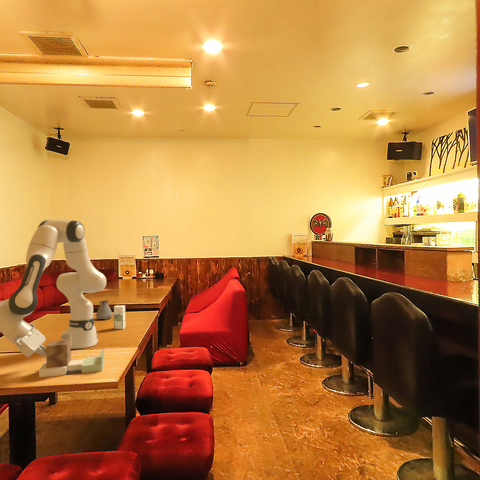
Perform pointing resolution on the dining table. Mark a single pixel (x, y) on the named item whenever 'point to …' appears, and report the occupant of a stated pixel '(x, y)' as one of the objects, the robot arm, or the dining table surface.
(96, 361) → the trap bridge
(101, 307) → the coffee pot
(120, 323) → the syrup box
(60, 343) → the walnut block
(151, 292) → the dining table surface
